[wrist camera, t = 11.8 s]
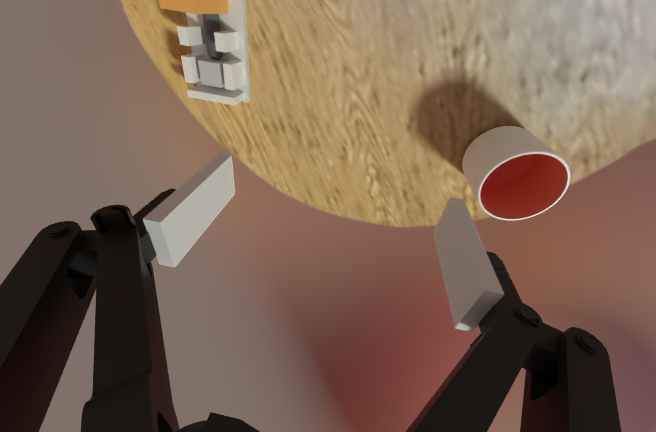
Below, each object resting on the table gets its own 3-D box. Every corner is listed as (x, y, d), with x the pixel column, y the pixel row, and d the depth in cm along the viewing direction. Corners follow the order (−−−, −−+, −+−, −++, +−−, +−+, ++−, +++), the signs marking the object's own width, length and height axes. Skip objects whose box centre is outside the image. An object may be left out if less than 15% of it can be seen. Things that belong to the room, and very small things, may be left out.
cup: (446, 157, 43) (461, 189, 35) (508, 107, 38) (541, 133, 30) (485, 194, 46) (506, 232, 38) (547, 153, 41) (588, 188, 33)
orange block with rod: (183, -113, 29) (129, -148, 23) (219, -108, 29) (174, -141, 23) (208, 79, 41) (176, 91, 35) (234, 83, 41) (207, 97, 34)
